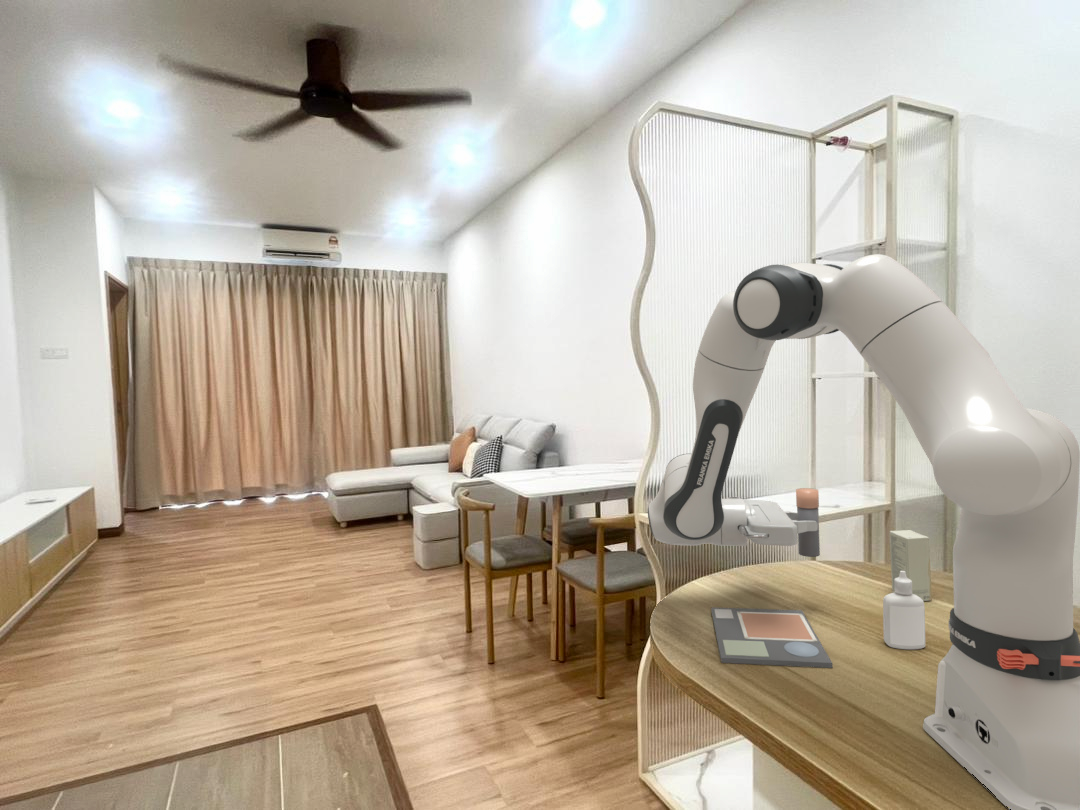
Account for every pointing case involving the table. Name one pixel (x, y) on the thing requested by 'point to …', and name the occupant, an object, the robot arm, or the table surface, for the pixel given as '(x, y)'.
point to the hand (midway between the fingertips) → (813, 521)
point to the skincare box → (911, 560)
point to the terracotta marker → (808, 511)
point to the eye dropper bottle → (903, 616)
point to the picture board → (767, 638)
